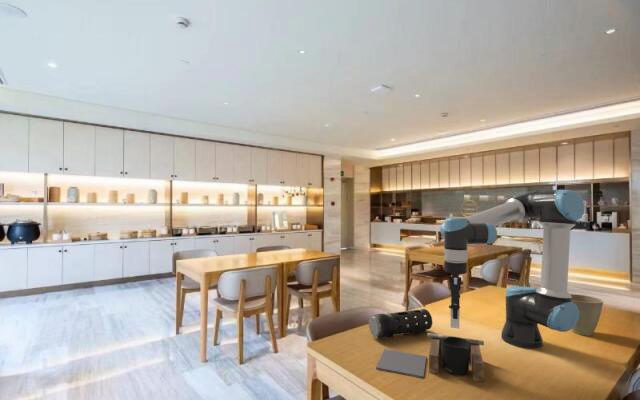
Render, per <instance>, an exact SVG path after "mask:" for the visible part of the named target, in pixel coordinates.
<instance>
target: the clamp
mask: <svg viewBox="0 0 640 400" xmlns="http://www.w3.org/2000/svg"><path fill="white" fill-rule="evenodd" d="M426 333H427V335H426V336H427V338H430V345H429V354H428V373H433V374H437V375H438V374H439V368H440V367H439V366H440V357H442V355H441V340H444V339H445V338H447V337H454V336H452V335H446V334H445V335H444V334H437V333H432V332H431V333H430V332H426ZM458 337H459V338H462V339H465V340H467V341H468V342H469V343H470V353H469V362H470V366H471V375H472V380H473V381H476V382H481V383H484V361H483V357H482V351H481V347H480V346H485V341H484V340H481V339H480V340H479V339H473V338H465V337H460V336H458Z"/></svg>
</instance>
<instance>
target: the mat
mask: <svg viewBox="0 0 640 400" xmlns="http://www.w3.org/2000/svg"><path fill="white" fill-rule="evenodd" d="M426 363H427V355H421V354H416V353H411V352H404V351H398V350H392V349H387V348H384V349H383V351H382V354H381V356H380V358H379V360H378V363H377V365H376V367H375V369H376V370H380V371H383V372H384V371H385V372H389V373H395V374H396V373H397V374H401V375H405V376H411V377H415V378H421V379H424V377H425V370H426Z"/></svg>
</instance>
